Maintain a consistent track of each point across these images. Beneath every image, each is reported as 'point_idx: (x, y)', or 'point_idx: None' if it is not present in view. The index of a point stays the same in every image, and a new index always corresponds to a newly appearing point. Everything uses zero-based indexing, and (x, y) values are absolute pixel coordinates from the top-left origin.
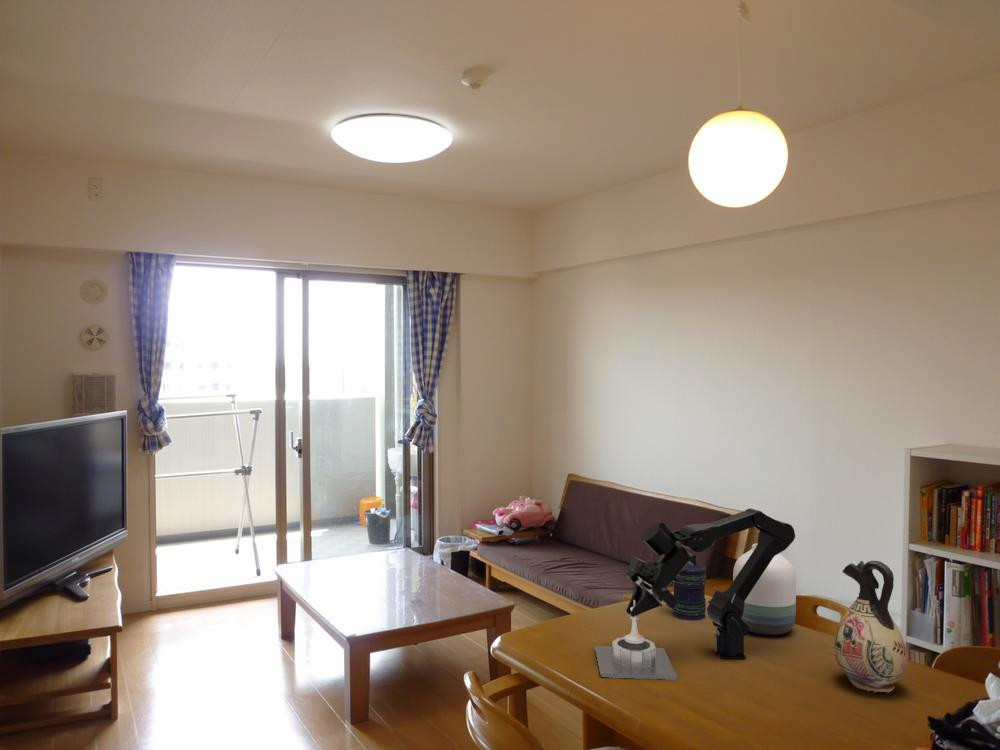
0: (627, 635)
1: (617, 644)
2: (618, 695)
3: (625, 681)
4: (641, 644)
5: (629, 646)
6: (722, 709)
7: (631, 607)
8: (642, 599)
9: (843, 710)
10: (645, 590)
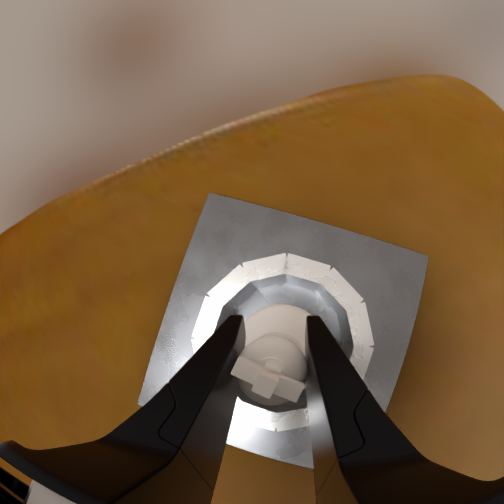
0: (296, 321)
1: (296, 274)
2: (113, 207)
3: (172, 256)
4: None
5: (345, 352)
6: (23, 384)
7: (278, 348)
8: (128, 421)
9: None
10: (17, 453)
